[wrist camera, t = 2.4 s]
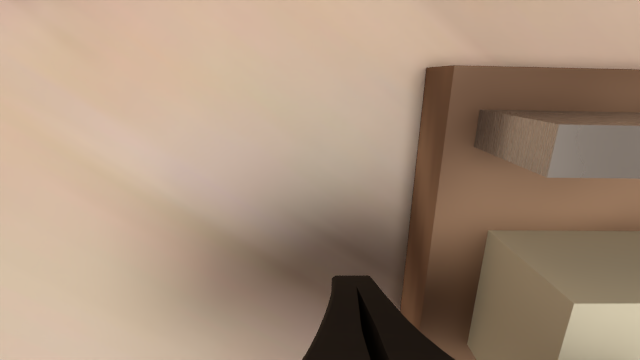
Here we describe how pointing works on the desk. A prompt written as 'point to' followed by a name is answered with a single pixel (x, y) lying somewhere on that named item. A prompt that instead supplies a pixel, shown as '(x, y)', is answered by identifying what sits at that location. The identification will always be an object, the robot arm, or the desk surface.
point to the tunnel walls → (564, 142)
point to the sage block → (558, 296)
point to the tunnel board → (498, 185)
